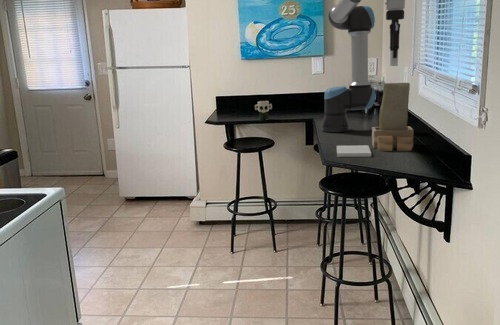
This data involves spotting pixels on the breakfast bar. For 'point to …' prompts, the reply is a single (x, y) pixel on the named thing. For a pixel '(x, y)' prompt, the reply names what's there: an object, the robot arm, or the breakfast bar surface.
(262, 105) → the big eared figurine
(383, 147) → the offcut block
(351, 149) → the felt pad
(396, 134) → the rack
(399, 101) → the stone slab
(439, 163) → the breakfast bar surface
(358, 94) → the robot arm
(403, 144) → the offcut block
